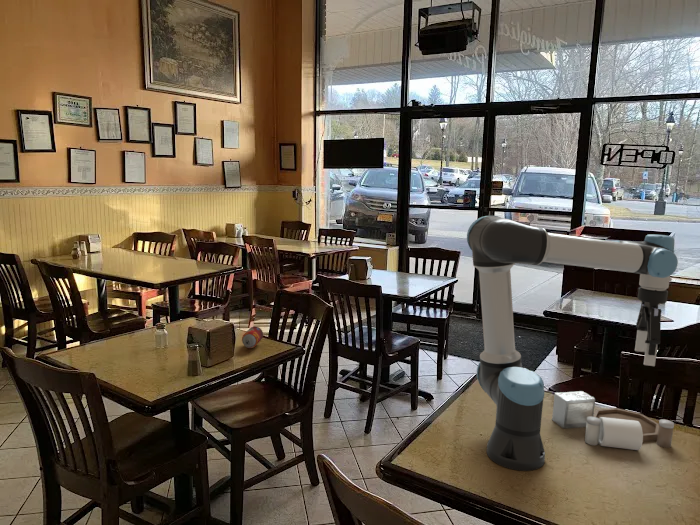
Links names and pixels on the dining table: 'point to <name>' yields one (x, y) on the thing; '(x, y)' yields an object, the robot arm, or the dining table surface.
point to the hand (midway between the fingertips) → (644, 358)
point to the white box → (572, 409)
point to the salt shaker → (592, 430)
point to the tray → (646, 423)
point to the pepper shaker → (665, 433)
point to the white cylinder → (620, 433)
